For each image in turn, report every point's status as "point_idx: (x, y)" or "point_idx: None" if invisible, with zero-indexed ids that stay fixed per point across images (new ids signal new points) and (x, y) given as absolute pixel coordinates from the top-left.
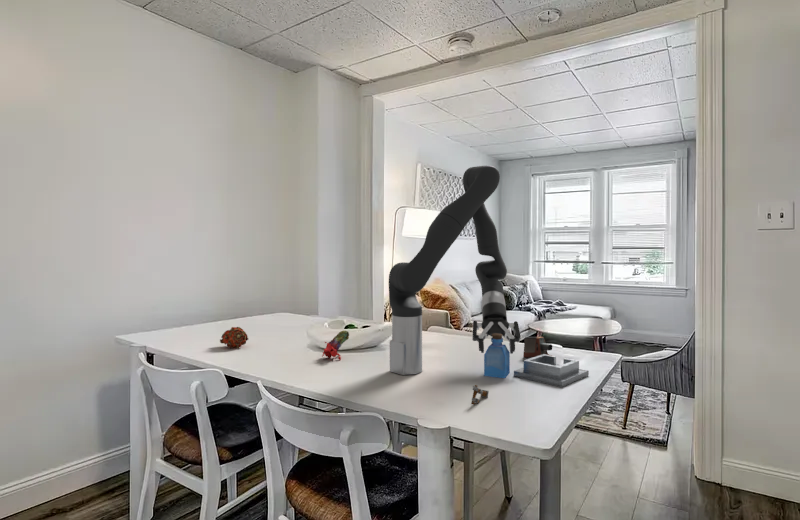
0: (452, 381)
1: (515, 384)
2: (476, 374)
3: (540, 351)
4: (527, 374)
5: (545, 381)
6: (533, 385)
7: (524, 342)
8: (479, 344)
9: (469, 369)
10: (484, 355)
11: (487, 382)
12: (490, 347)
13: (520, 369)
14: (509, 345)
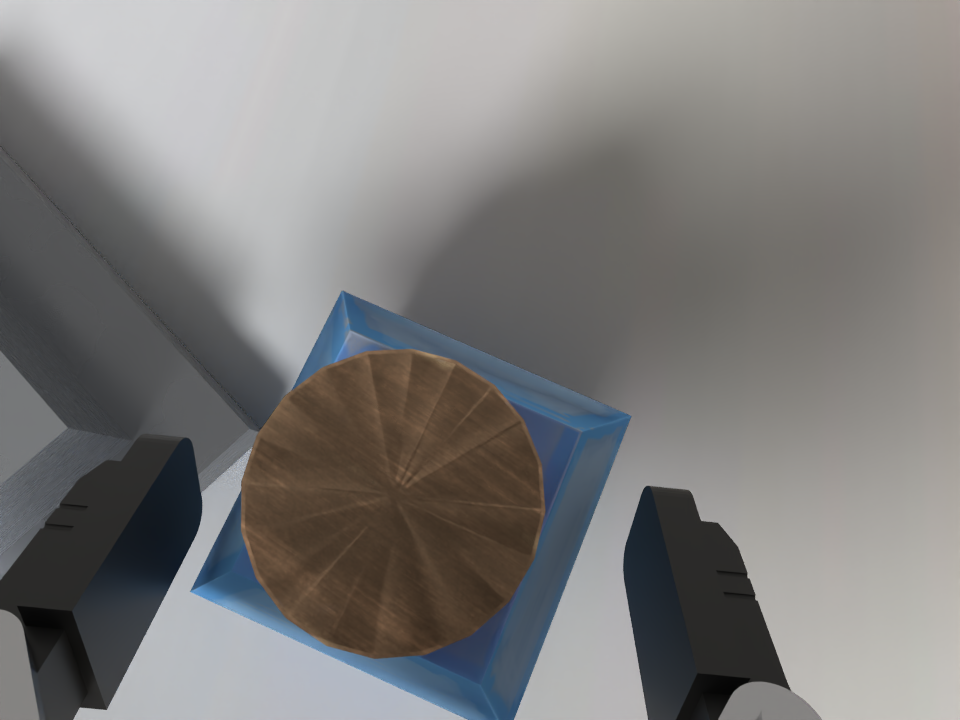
0: (890, 253)
1: (330, 164)
2: None
3: None
4: (140, 306)
5: (27, 181)
6: (176, 135)
7: None
8: (743, 592)
9: None
10: (625, 414)
11: (574, 222)
12: (551, 413)
13: None
14: (129, 656)
